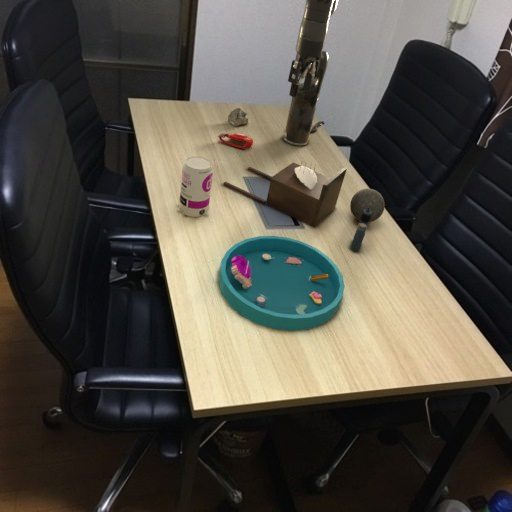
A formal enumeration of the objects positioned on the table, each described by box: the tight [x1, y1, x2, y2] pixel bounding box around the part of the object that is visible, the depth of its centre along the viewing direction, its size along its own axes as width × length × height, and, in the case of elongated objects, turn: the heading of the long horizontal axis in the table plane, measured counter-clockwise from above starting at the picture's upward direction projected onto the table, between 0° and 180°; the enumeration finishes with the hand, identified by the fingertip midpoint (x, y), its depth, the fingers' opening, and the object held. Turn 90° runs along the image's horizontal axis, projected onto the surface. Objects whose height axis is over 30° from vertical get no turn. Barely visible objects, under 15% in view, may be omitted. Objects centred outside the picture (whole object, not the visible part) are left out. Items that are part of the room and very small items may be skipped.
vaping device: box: [350, 208, 372, 253], centre depth 139 cm, size 3×5×12 cm, turn 161°
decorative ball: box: [349, 188, 385, 223], centre depth 151 cm, size 10×10×10 cm
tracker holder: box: [217, 132, 254, 150], centre depth 180 cm, size 12×4×10 cm
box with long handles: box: [223, 162, 347, 228], centre depth 153 cm, size 15×32×14 cm, turn 58°
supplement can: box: [178, 155, 214, 218], centre depth 139 cm, size 8×8×15 cm
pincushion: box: [294, 162, 317, 189], centre depth 148 cm, size 12×6×6 cm, turn 12°
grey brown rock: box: [227, 107, 249, 127], centre depth 192 cm, size 4×8×7 cm, turn 108°
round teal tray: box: [218, 235, 345, 332], centre depth 122 cm, size 30×30×6 cm
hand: (299, 93), depth 151 cm, fingers open, 8 cm apart
